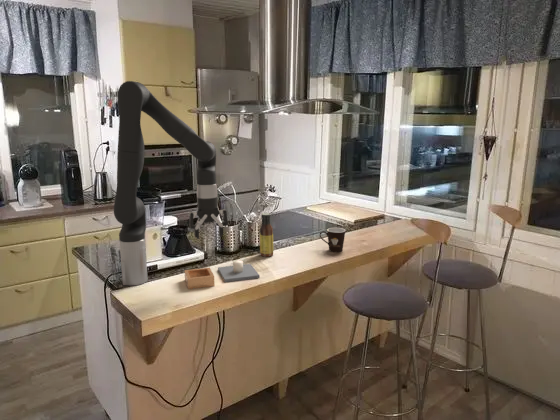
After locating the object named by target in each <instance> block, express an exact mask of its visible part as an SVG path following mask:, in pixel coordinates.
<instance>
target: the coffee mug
mask: <svg viewBox="0 0 560 420" xmlns="http://www.w3.org/2000/svg"><path fill="white" fill-rule="evenodd" d="M346 232H347V231H346V229H345V228H342V227H341V228H340V227H329V228H327V232H326V231H324V230H323V231H320V233H319V237H320V239H321V240H322V241H323V242H325V244H327V245H328V251H329V252H331V253H342V252H343V250H344V249H343V248H344V243H345V236H346ZM322 234H326V236H327V240H325V239H323V237H322Z"/></svg>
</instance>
